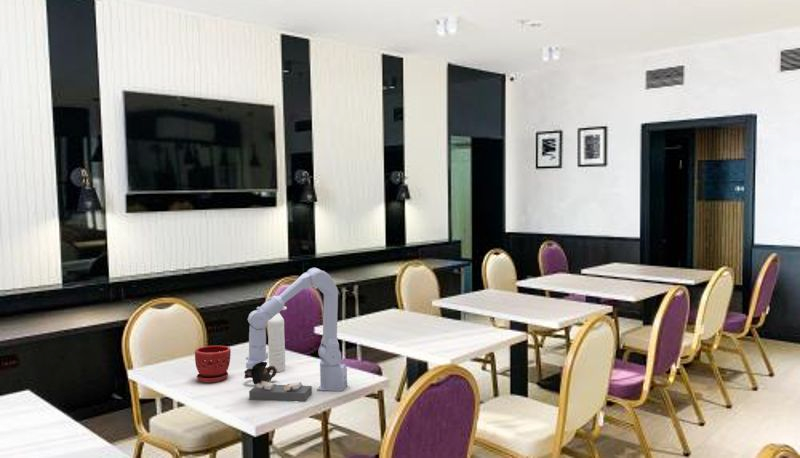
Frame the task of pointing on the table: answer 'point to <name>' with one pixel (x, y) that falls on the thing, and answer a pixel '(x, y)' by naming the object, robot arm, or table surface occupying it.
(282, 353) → the water bottle
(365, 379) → the table surface
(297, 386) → the block
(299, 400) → the power strip
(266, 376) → the pottery mug
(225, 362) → the plant pot
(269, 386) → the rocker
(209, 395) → the table surface
